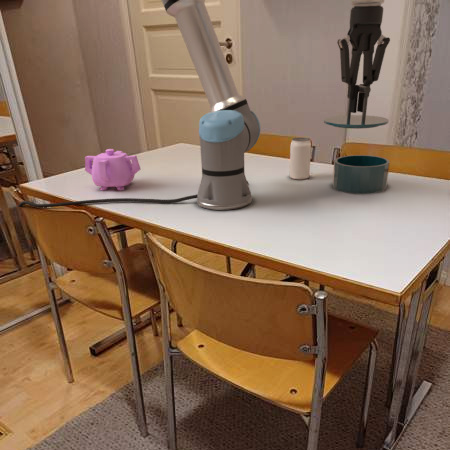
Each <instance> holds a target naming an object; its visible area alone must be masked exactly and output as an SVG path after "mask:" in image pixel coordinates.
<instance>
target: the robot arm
mask: <svg viewBox="0 0 450 450" xmlns="http://www.w3.org/2000/svg"><path fill="white" fill-rule="evenodd" d="M161 2H162V5H163V8H164V10H165V12H166V14H167V15H169V16H171V17H172V18H173V17H174V19H175V22H176V24H177V26H178V29H179V32H180V34H181V37H182V39H183V42H184V44H185V47H186V49H187V52H188V54H189V56H190V59H191V62H192V64H193V66H194V69H195V71H196V75H197V77H198V79H199V81H200V84H201V86H202V90H203V92H204V95H205V97H206V99H207V101H208V104H209V106H210V107H209V111H208V113H205V114H204V115H202V116H201V117H200V119H199V122H198V125H199V126H198V136H199V148H200V163H201V179H200V182H199V187H198V192H197V194H192V195H188V196H187V195H186V196H183V197H178V198H173V199H172V198H171V199H161V198H160V199H159V198H133V197H132V198H131V197H127V198H126V197H121V198H100V199H99V198H97V199H88V200H87V199H86V200H77V201H76V200H75V201H66V202H54V203H34V202H32V201H28V200H23V201H21V202H20V203H19V204H18V206H17V208H22V207H24V205H27V206H30V207H32V208H39V209H40V208H54V207H55V208H57V207H66V206H67V207H68V206H77V205H79V206H80V205H88V204H89V205H90V204H103V203H118V202H120V203H122V202H123V203H127V202H128V203H157V204H174V203H175V204H176V203H181V202H184V201H189V200H194V199H196V200H197V201H196V202H197V203H196V204H197V205H198V206H199V207H201V208H203V209H207V210H214V211H229V210H236V209H242V208H245V207H247V206H248V205H250V204H251V203H252V192H251V189H250V184H249V181H248V180H247V177H246V174H245V173H246V172H245V153H247V152H249V151H251V149H253V147H254V146H255V145H256V143H257V142H258V140H259V138H260V134H261V123H260V120H259V118H258V116H257V115H256V113H255V112H253V111H252V110H251V108H250V106H249V103H248V100H247V98H246V97H245V96H243V95H241V94H239V92H238V90H237V86H236V84H235V81H234V78H233V76H232V73H231V70H230V67H229V65H228V62H227V59H226V57H225V55H224V52H223V49H222V47H221V44H220V40H219V39H218V36H217V34H216V30H215V28H214V25H213V22H212V20H211V17H210V14H209V11H208V9H207V6H206V3H205V2H206V0H161ZM384 3H385V0H351V2H350V4H351V5H352V6H353V7H351V8H350V17H349V29H348V31H347V34H346V36H344V37H342V38H338V39H337V42H336V43H337V45H338V48H339V55H340V58H339V59H340V74H341V75H340V77H341V78H340V79H341V82H342V83H345V84H346V85H347V96H346V97H347V99H348V100H349V99H350V104H349V112H351V114H356V113H357V112H359V113H362V112H363V103H364V94H366V93H360V92H358V91H359V85H362V86H368V87H370V88H371V85H373V83H374V82H378V80H379V78H380V74H381V70H382V66H383V61H384V57H385V53H386V50H387V47H388V45H389V44H390V41H391V38H390V37H386V36H384V35H383V34H382V32H383V31H382V23H383V15H384V6H382V4H384ZM376 44H377V46H376V48H375V45H376ZM350 45H351V58H350ZM362 55H363V61H362V62H363V63H362V64H363V65H362V83H360V84H357V82H358V76H359V71H360V65H361V59H362ZM369 96H370V93H368V98H369Z"/></svg>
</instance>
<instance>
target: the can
mask: <svg viewBox="0 0 450 450" xmlns="http://www.w3.org/2000/svg"><path fill="white" fill-rule="evenodd" d="M311 154H312V143H311V138H309V137H303V136H302V137H299V136H298V137H293V138H291V142H290V148H289V177H290V179H291V180H297V181H299V180H302V181H303V180H307V179H309V178H310V174H311V156H312V155H311Z"/></svg>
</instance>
